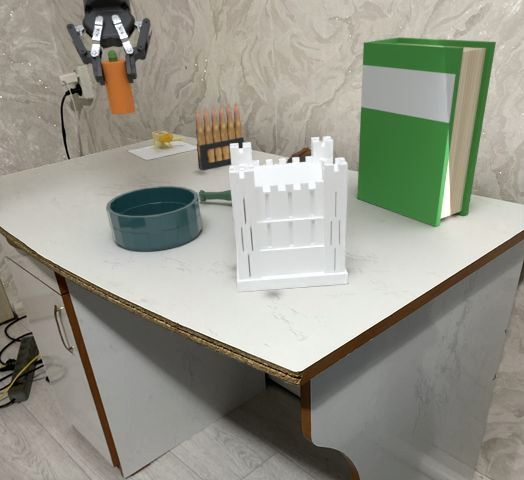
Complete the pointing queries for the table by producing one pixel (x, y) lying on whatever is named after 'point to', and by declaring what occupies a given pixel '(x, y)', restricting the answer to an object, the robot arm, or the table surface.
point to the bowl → (154, 218)
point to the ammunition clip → (217, 137)
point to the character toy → (163, 146)
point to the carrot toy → (117, 85)
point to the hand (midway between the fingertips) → (116, 80)
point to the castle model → (289, 219)
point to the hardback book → (422, 124)
